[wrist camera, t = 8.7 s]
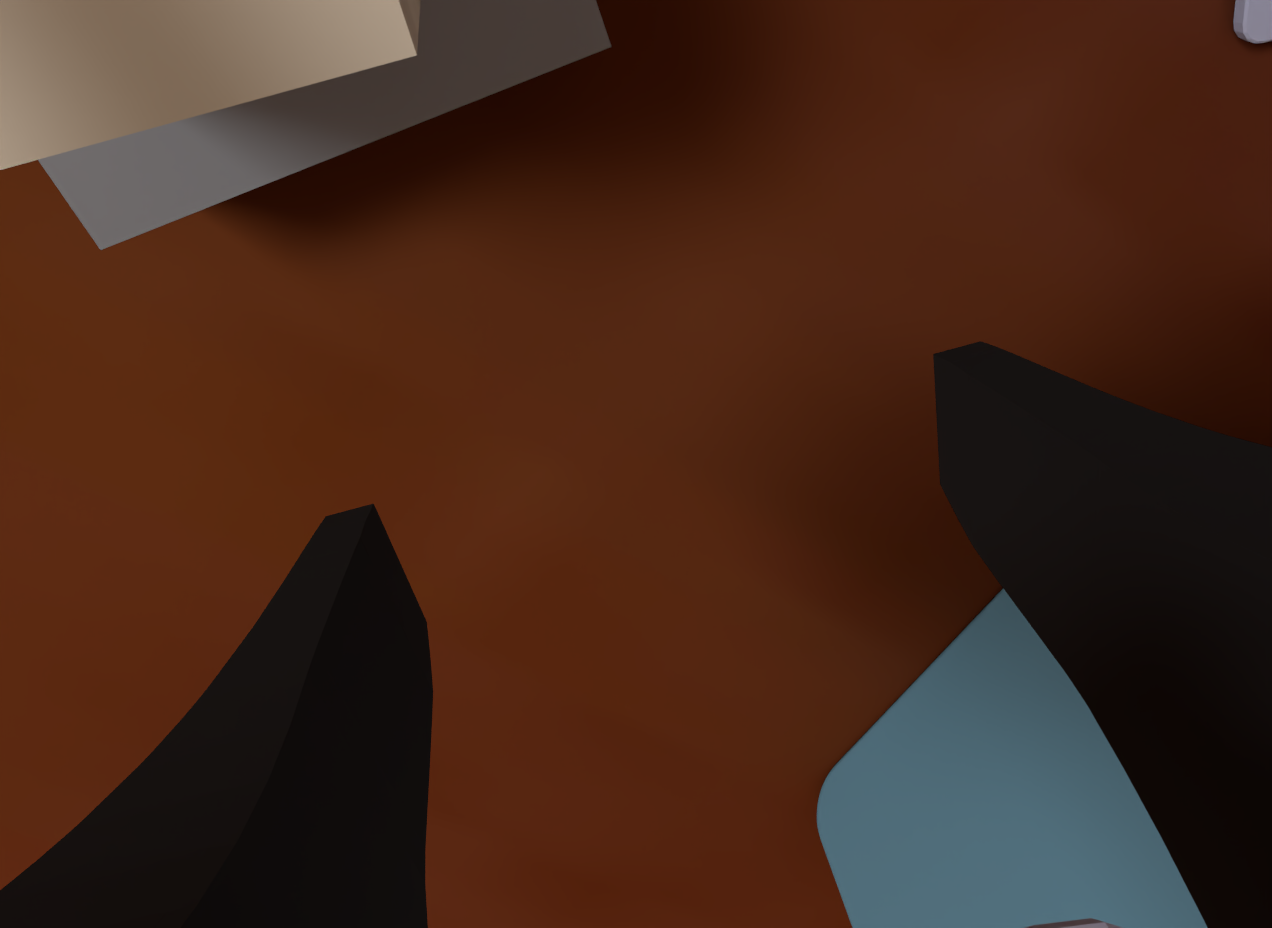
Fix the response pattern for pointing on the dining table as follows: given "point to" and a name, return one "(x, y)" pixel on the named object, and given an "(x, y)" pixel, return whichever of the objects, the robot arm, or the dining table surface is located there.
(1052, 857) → the data package
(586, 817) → the dining table surface
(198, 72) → the maple cube
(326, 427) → the dining table surface
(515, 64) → the base block
